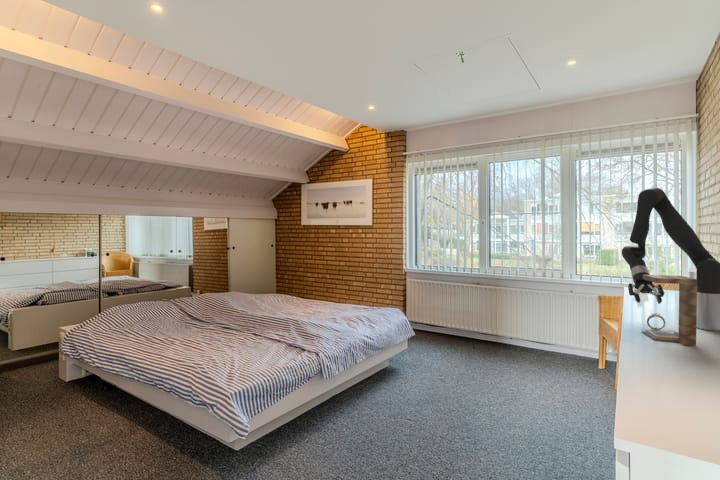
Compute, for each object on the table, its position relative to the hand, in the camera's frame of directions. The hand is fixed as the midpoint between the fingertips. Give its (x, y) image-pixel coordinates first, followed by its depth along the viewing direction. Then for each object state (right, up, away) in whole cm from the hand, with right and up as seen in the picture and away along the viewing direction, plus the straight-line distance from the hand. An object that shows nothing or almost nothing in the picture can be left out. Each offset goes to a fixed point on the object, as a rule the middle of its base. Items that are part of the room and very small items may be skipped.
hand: (649, 302), depth 190 cm
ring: (-2, -12, -7) cm, 14 cm away
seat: (-8, -12, -20) cm, 25 cm away
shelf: (-11, -12, -25) cm, 29 cm away
